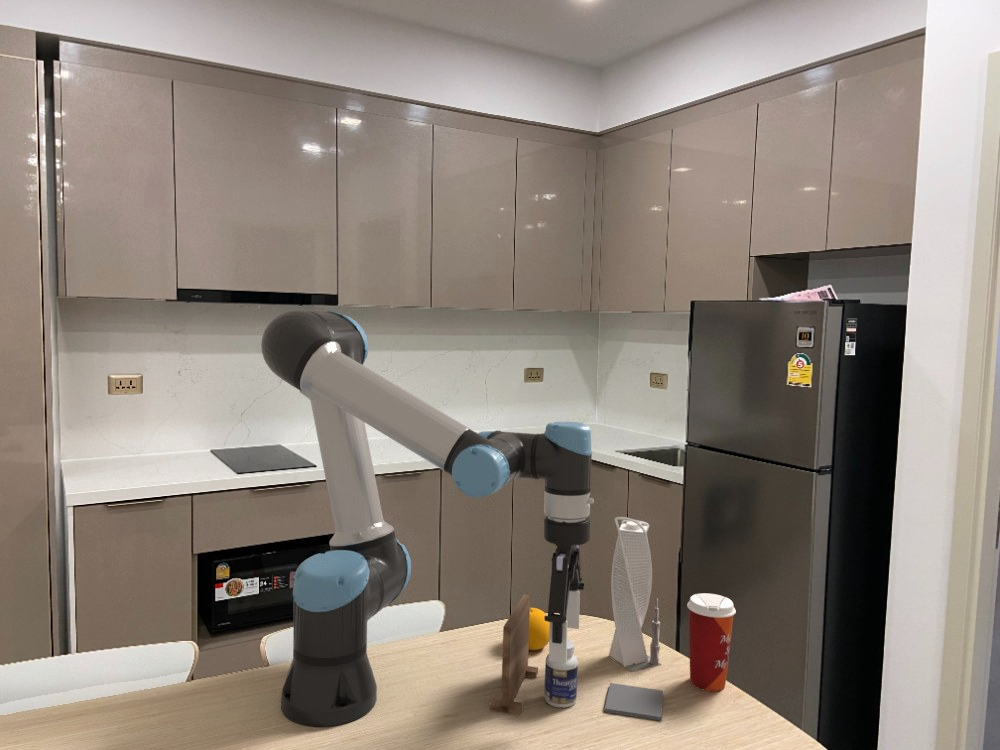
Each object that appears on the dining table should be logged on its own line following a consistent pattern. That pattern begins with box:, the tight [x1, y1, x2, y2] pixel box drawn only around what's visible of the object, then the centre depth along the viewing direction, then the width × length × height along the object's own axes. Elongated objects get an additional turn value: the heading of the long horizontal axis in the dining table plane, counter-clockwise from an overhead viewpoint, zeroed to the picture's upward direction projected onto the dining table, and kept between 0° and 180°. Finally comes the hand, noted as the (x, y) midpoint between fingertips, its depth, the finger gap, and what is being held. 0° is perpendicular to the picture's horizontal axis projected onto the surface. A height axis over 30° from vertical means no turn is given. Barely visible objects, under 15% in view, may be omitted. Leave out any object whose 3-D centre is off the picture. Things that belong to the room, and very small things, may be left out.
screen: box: [488, 594, 539, 716], centre depth 124 cm, size 5×15×14 cm, turn 166°
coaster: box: [604, 682, 664, 722], centre depth 122 cm, size 9×9×1 cm
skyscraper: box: [608, 516, 662, 673], centre depth 137 cm, size 8×8×28 cm
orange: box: [528, 607, 550, 651], centre depth 142 cm, size 8×8×8 cm
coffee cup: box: [686, 592, 736, 692], centre depth 129 cm, size 8×8×15 cm
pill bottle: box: [544, 639, 579, 708], centre depth 122 cm, size 5×5×10 cm
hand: (564, 643), depth 121 cm, fingers open, 13 cm apart
